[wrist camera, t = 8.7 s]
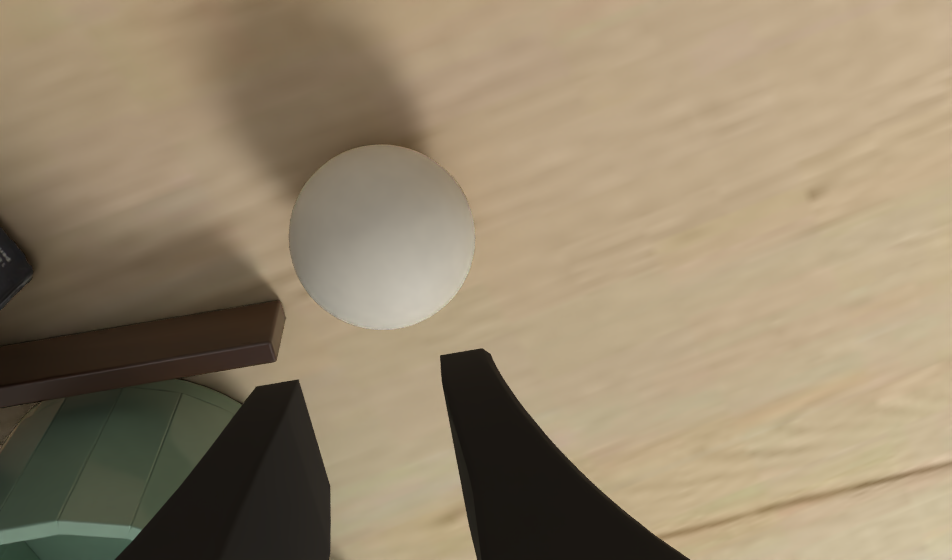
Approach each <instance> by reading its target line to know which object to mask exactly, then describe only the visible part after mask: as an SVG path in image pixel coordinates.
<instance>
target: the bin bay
mask: <svg viewBox="0 0 952 560" xmlns="http://www.w3.org/2000/svg"><path fill="white" fill-rule="evenodd" d="M285 319H286V317H285V314H284V310H283V307H282V303H281V302H280V301H279V300H277V301H271V302H265V303H259V304H253V305H247V306H241V307H235V308H229V309H223V310H217V311H211V312H205V313H199V314H193V315H187V316H181V317H175V318H169V319H163V320H157V321H151V322H145V323H139V324H133V325H127V326H121V327H115V328H109V329H103V330H97V331H91V332H85V333H79V334H73V335H67V336H61V337H55V338H49V339H43V340H37V341H31V342H25V343H19V344H13V345H7V346H1V347H0V408H5V407H11V406H17V405H23V404H29V403H35V402H41V401H47V400H52V399H58V398H64V397H70V396H76V395H82V394H88V393H94V392H100V391H106V390H112V389H118V388H124V387H129V386H135V385H141V384H147V383H153V382H159V381H165V380H171V379H177V378H183V377H189V376H195V375H201V374H206V373H212V372H218V371H224V370H230V369H236V368H242V367H248V366H254V365H260V364H266V363H272V362H275V361H277V356H278V352H279V347H280V343H281V338H282V333H283V329H284V324H285Z"/></svg>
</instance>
